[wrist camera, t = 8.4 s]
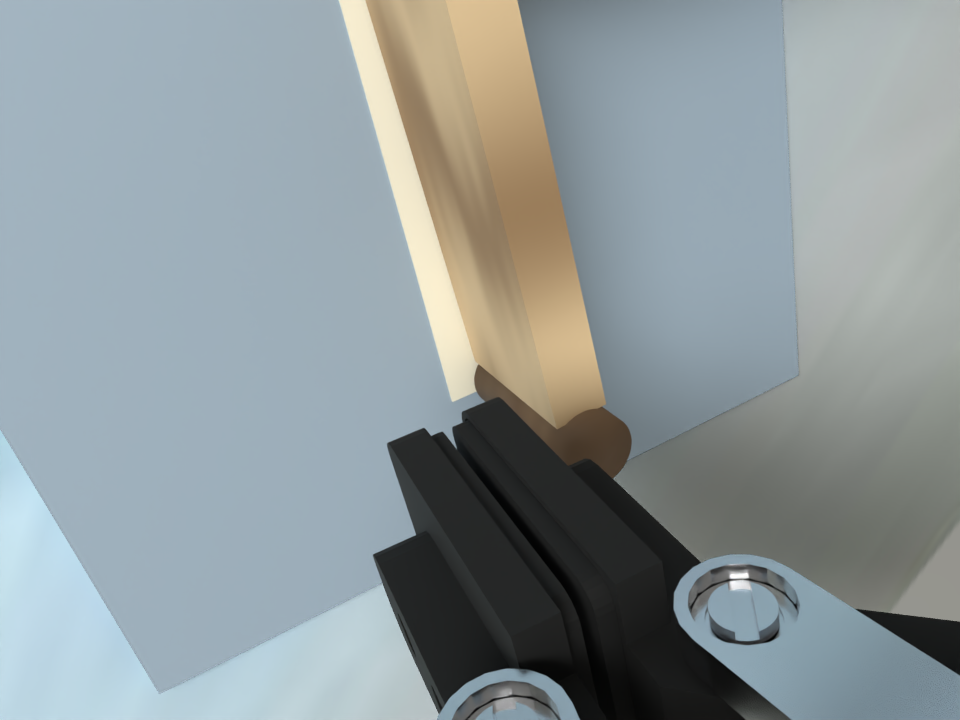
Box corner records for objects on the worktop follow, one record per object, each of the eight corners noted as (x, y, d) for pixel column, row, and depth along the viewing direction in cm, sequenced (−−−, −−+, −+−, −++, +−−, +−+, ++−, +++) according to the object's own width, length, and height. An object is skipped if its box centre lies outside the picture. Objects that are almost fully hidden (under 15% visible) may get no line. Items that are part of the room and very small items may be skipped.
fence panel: (344, -33, 15) (429, -52, 12) (419, -56, 16) (524, -81, 12) (483, 415, 20) (574, 500, 17) (537, 387, 21) (637, 465, 17)
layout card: (765, -483, 16) (778, -492, 16) (801, 367, 26) (809, 371, 25) (-464, -355, 10) (-479, -366, 10) (158, 685, 20) (159, 695, 19)
